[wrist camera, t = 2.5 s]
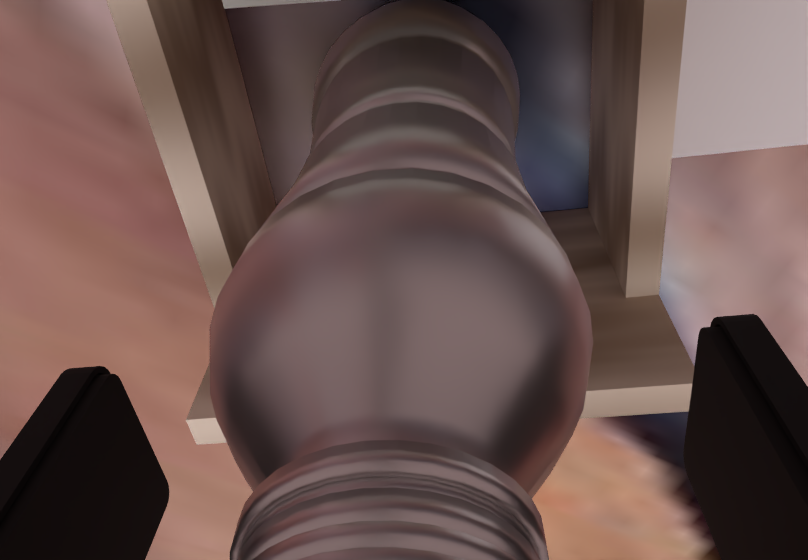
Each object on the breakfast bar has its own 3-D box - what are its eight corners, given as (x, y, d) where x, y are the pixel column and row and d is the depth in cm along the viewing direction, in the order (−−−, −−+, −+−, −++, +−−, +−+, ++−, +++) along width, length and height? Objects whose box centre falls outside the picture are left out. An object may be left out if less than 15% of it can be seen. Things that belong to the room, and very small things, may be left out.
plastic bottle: (551, 62, 23) (869, 671, 6) (430, 204, 26) (431, 859, 9) (398, -63, 21) (282, 344, 4) (287, 106, 24) (-29, 719, 8)
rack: (89, -361, 17) (-221, -534, 9) (646, -468, 16) (880, -787, 8) (266, 260, 28) (196, 444, 19) (613, 227, 26) (697, 410, 18)
